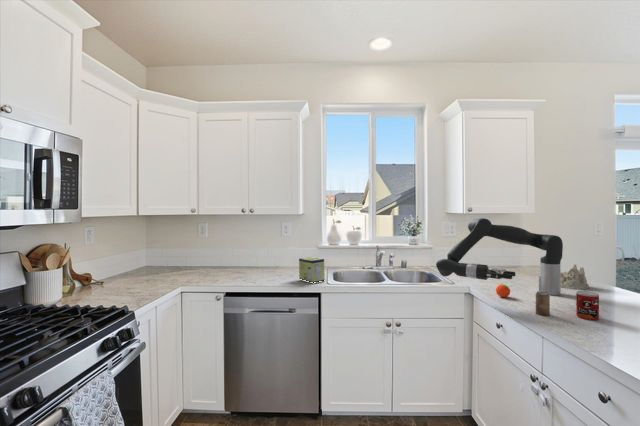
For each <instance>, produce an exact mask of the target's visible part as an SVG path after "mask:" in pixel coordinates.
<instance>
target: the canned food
mask: <svg viewBox="0 0 640 426" xmlns="http://www.w3.org/2000/svg"><path fill="white" fill-rule="evenodd" d="M575 301H576V302H575V305H576V309H575V310H576V311H575V312H576V313H575V315H576V316H577V317H578V318H580V319H581V320H582V319H583V320H586V321H598V320H599V319H600V294H599V293H597V292H594V291H590V290H577V291H576V295H575Z"/></svg>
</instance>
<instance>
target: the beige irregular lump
mask: <svg viewBox="0 0 640 426" xmlns="http://www.w3.org/2000/svg"><path fill="white" fill-rule="evenodd" d="M577 268H578V267H577V264H573V265H572V268H570V269H569V271H564V272H563V271H562V272H561V288H562V289H563V288H564V289H567V290H568V289H569V290H577V291H584V290H588V289H590V285H589V284H588V281H587V277H586V273H585V269H584V267H582V266H580V267H579V270H578V269H577Z"/></svg>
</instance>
